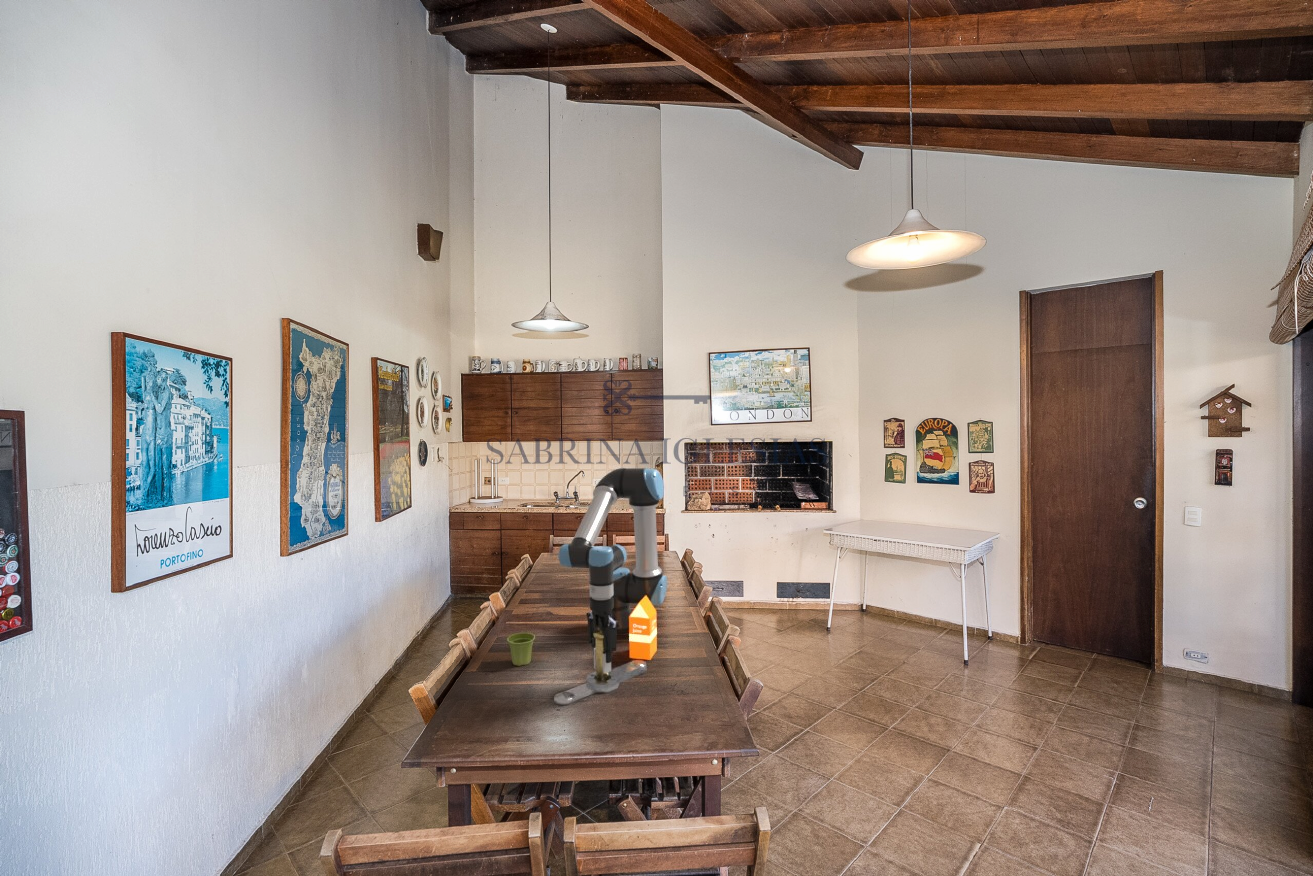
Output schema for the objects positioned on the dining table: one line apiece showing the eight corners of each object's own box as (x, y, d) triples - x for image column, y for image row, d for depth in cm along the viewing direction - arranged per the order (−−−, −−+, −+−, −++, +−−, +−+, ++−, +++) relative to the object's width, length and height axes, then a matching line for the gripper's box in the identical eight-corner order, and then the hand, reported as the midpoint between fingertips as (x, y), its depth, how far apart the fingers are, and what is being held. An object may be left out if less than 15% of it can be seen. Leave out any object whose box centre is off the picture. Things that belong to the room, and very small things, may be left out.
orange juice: (657, 650, 213) (656, 595, 212) (650, 660, 205) (649, 603, 204) (636, 648, 215) (635, 594, 214) (629, 657, 207) (628, 601, 206)
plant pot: (540, 658, 207) (540, 634, 206) (526, 669, 198) (525, 644, 197) (517, 655, 210) (517, 631, 209) (502, 666, 201) (501, 641, 201)
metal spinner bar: (565, 710, 171) (565, 702, 171) (546, 698, 178) (546, 690, 178) (654, 672, 194) (654, 665, 194) (634, 663, 202) (634, 656, 202)
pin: (590, 679, 186) (590, 632, 186) (603, 674, 190) (603, 628, 189) (600, 684, 182) (600, 637, 182) (614, 679, 186) (613, 632, 185)
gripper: (576, 593, 189) (577, 665, 190) (608, 605, 176) (609, 682, 177) (594, 588, 194) (595, 658, 195) (628, 600, 181) (628, 674, 182)
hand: (602, 669), depth 186 cm, fingers closed on pin, 4 cm apart
